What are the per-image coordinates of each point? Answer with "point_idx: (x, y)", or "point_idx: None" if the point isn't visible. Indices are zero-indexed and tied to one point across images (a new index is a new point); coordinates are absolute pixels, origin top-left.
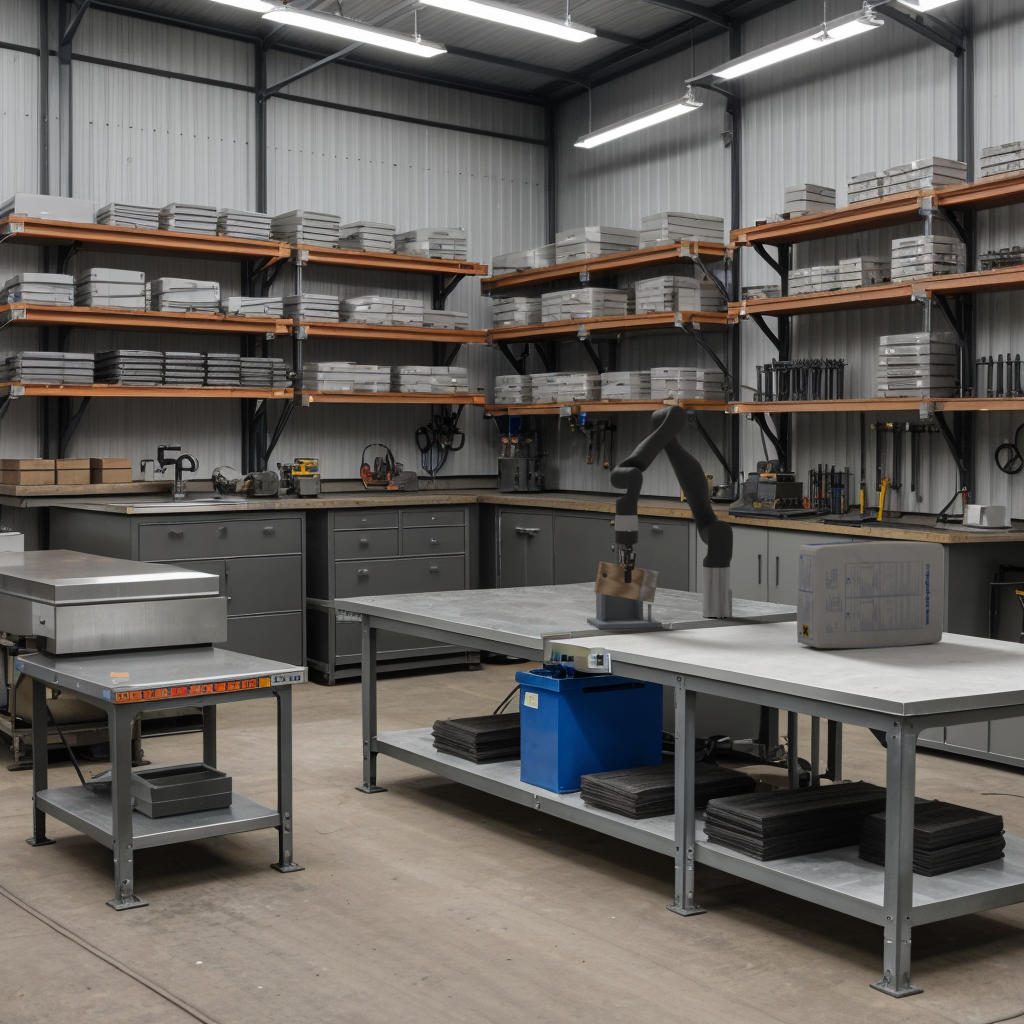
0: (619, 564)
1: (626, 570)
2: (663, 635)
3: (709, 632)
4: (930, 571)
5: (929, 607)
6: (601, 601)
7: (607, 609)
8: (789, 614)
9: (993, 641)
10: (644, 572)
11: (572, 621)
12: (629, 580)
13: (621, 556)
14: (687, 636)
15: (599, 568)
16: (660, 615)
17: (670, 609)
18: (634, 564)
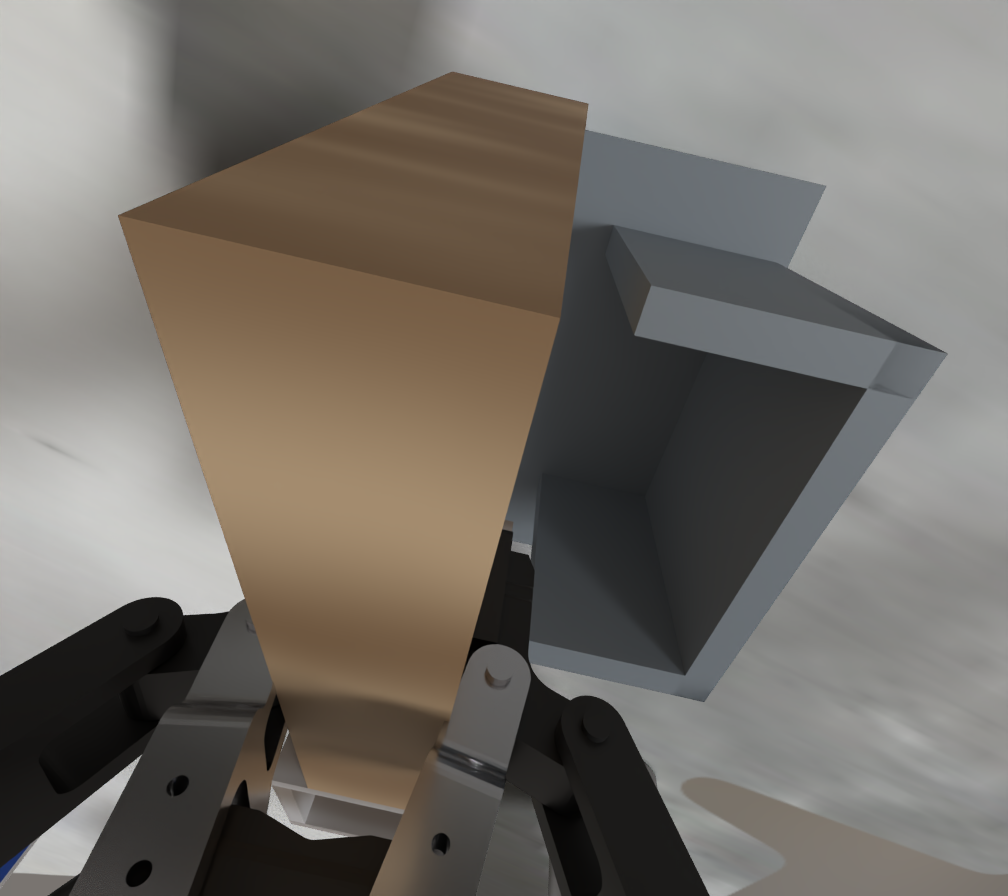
0: (601, 758)
1: (239, 616)
2: (113, 362)
3: (200, 571)
4: None
5: None
6: (637, 253)
7: (732, 359)
8: (541, 890)
9: (23, 869)
10: (287, 744)
11: (996, 105)
12: None
13: None
14: (79, 443)
15: (436, 182)
16: (785, 681)
17: (918, 786)
18: (47, 753)
